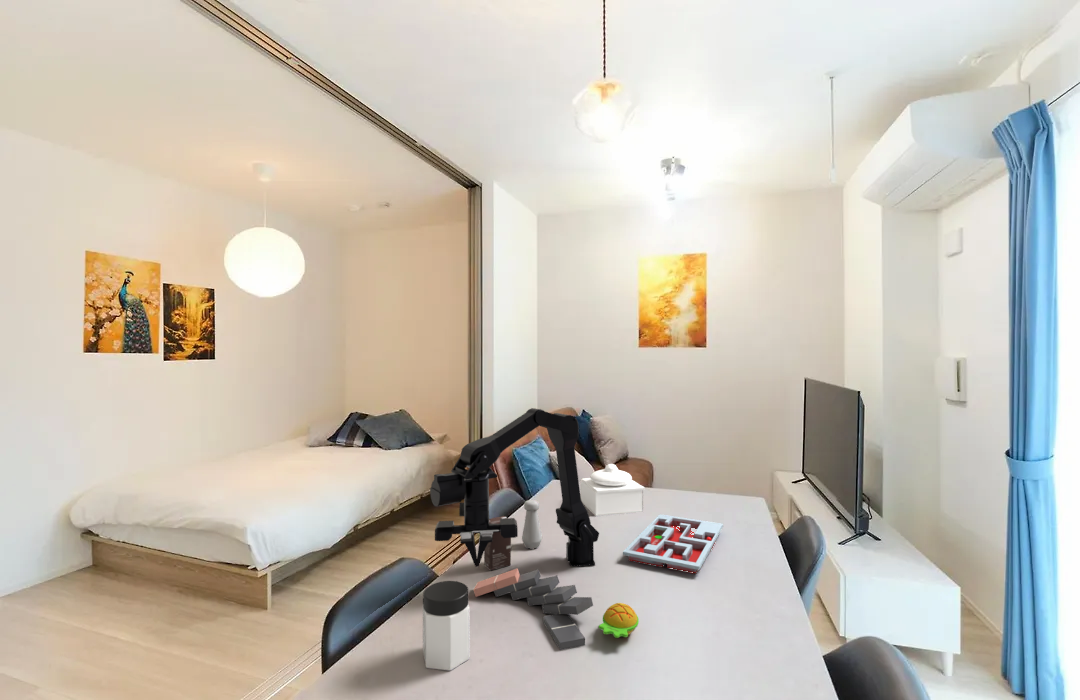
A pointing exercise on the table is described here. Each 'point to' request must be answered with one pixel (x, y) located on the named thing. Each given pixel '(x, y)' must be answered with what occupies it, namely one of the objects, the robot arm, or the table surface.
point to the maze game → (674, 543)
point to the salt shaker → (531, 525)
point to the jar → (446, 625)
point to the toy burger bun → (619, 620)
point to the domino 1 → (496, 582)
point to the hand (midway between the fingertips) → (477, 566)
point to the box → (497, 549)
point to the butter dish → (611, 492)
